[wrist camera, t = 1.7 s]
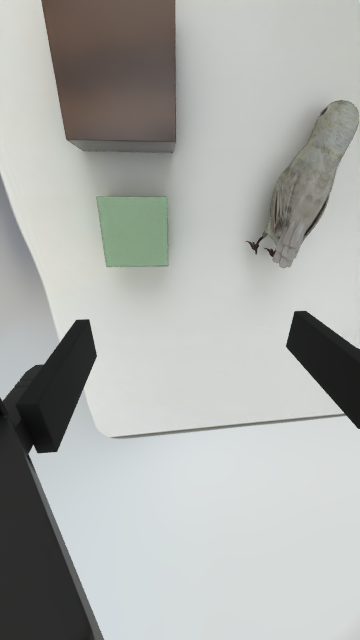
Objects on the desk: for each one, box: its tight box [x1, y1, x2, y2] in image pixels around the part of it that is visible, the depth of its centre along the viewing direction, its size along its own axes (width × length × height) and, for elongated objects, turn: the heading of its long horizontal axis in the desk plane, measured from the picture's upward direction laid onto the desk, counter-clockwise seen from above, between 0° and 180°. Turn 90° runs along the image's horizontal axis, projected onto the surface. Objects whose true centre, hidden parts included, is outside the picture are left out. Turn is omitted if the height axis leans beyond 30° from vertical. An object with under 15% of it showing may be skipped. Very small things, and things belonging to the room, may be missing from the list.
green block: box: [96, 196, 168, 267], centre depth 27 cm, size 7×7×6 cm
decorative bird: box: [245, 100, 359, 268], centre depth 25 cm, size 5×16×7 cm, turn 161°
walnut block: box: [41, 0, 176, 153], centre depth 21 cm, size 10×10×5 cm
